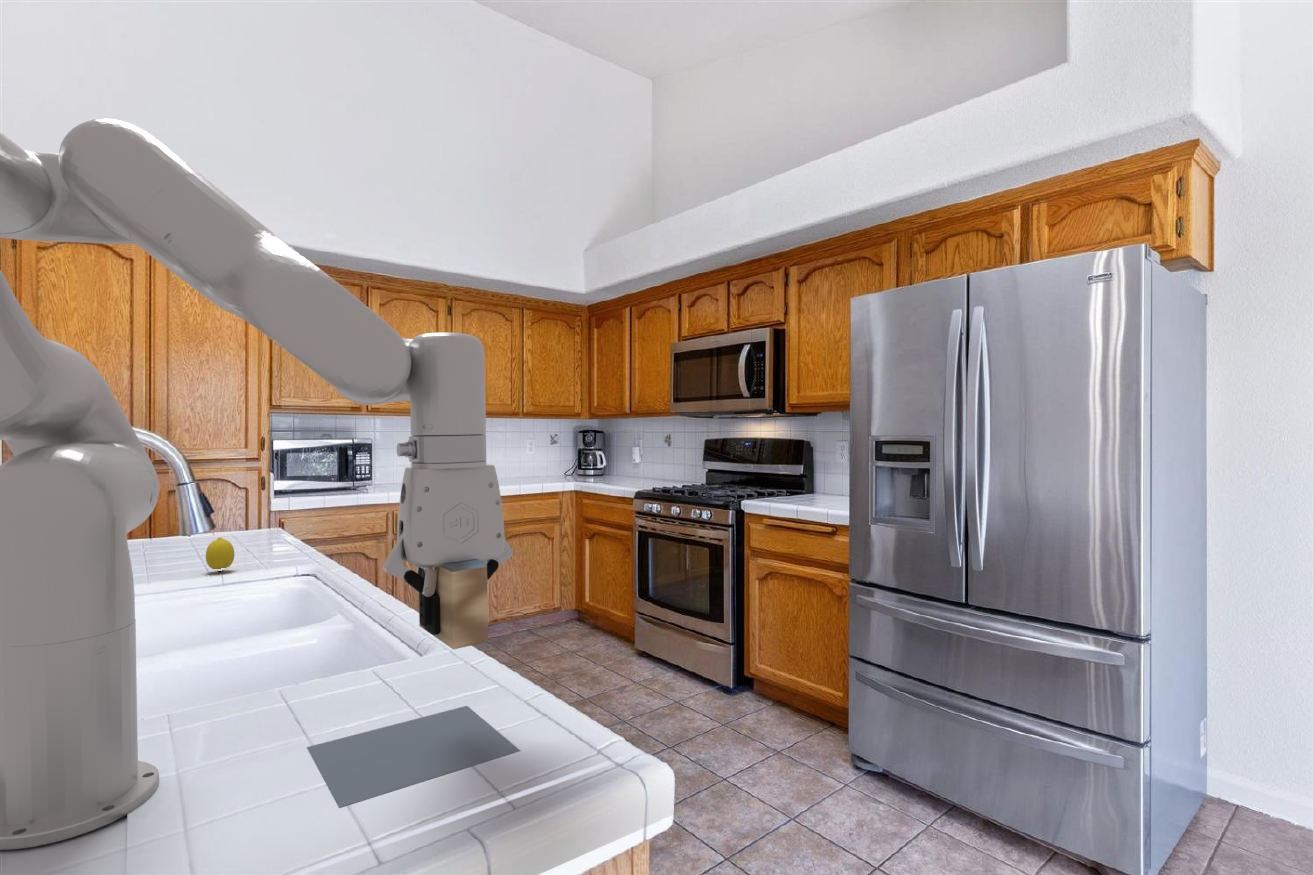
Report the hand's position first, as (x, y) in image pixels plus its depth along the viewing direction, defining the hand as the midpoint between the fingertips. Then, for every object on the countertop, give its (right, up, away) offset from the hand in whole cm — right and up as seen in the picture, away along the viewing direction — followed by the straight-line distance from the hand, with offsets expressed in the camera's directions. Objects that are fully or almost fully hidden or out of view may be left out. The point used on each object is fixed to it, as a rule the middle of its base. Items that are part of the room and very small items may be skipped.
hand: (452, 625), depth 72 cm
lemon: (-78, -11, +84) cm, 115 cm away
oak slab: (0, -1, 0) cm, 1 cm away
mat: (-3, -12, -2) cm, 13 cm away
